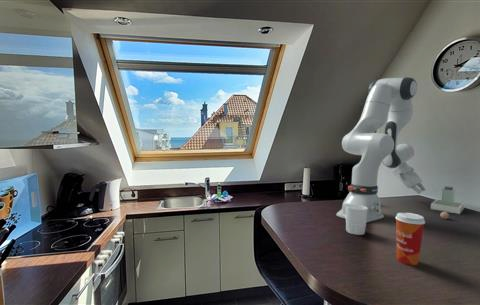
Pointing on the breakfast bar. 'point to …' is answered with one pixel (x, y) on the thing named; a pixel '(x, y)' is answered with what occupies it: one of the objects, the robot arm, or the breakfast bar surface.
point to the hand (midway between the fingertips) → (422, 191)
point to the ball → (444, 215)
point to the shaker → (448, 196)
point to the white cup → (356, 219)
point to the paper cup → (409, 237)
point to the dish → (447, 207)
